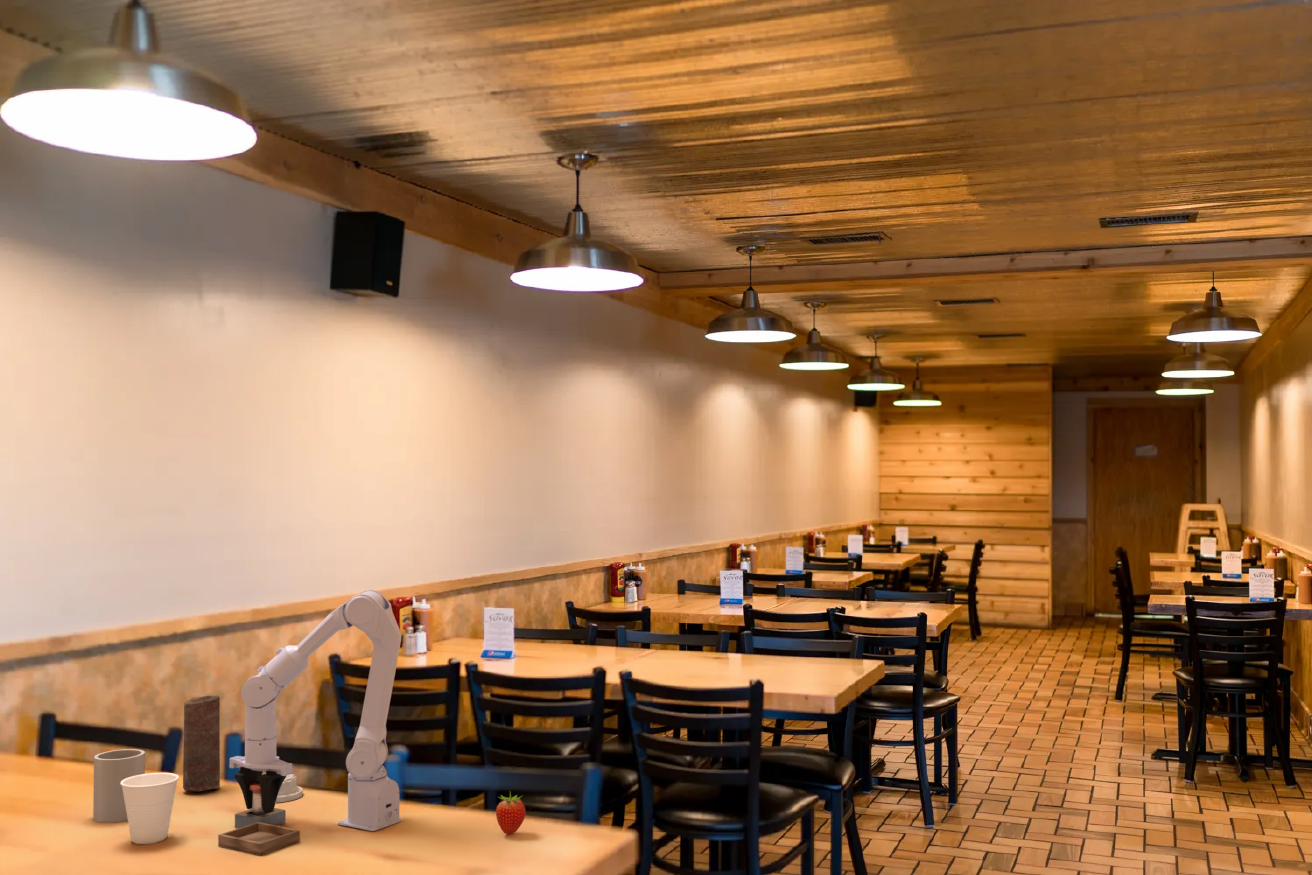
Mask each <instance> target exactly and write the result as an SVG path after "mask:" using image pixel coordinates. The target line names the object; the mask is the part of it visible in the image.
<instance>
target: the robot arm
mask: <svg viewBox="0 0 1312 875" xmlns="http://www.w3.org/2000/svg"><path fill="white" fill-rule="evenodd" d="M392 607H393V606H392V604H391V602H390V601H389V600H388V599H387V598H386V597H385V596H384V595H383V594H382V593H381V592H379V591H377V590H374V589H368V590H364V591H362V592H360V593H359V594H355V595H353V596H352V597H350V598H349V599H348V600H347V601H346V602H345V603H342V604H341V605H339V606H338V607H337V608H335V609H334V610H333V611H331V612H330V613H329V614H328V615H326V616H325V618H324V619H323V620H322V621H321V622H320V623H319V624H317V625H316V627H314V628H313V629H312V630H311V631H310V632H309V633H308V634H307V635H306V636H305V637H304V638H303V639H302V640H301V641H300V642H299V643H298V644H297V645H295V644H294V645H290V644H289V645H286V646H285V647H284V648H283V647H280V648H278V649H277V650H276V651H275V654H276V655H275V656H274V657H272V659H271V660H270V661H268V662H267V664H266V665H264V666H263V665H261V666H260V667H259V668H258V669H256V670H257V672H258V674H256V675H253V676H251V677H249V678H247V680H246V681H245V683H243V686H242V687H241V692H240V693H241V698H242V700H243V702H244V703H245V714H244V756H241V755H236V756H233V757H230V758H229V768H230V769H236V768H237V769H239V771H237V772H235V773H233V774H234V775H233V776H234V779H235V780H236V782H237V783H238V785H239V787H240V789H241V793H242V795H243V799H244V803H245V806H246V809H247V810H249V809H252V791H251V790H249V784H250V783H251V782H254V781H259V784H260V787H261V792H262V806H263V811H264V812H268V811H271V810H274V808H276V807H275V806H276V804H277V803H276V799H277V795H278V792H279V790H280V787H281V785H282V783H283V781H284V779H285V778H286V776H287V775H290V774H293V763H291V762H287V761H284V760H281V759H280V756H278V755H277V698H278V697H279V696H280V693H281V691H282V690H284V689H285V688H286V687H288V686H289V685H290V684H291V683H292V682H293V681H294V680H296V678H297V677H299V675H301V674H302V672H304V671H305V670H306V669H307V668H308V667H309V658H310V656H311V655H313V654H314V653H315V652H316V651H317V650H318V649H319V648H320V647H322V646H323V645H324V644H325V643H326V642H327V641H328V640H329V639H330V638H332V637H333V636H335V635H336V633H338V632H339V631H342V630H346V629H350V628H351V627H355V628H357V629H358V630H360V631H362V632H363V633H364V634H365V635H366V636H367V637H368V639H369V640H370V641H371V642H372V644H373V651H372V657H371V662H370V669H369V671H368V672H369V673H368V679H367V684H366V690H365V693H364V694H365V695H364V700H363V706H362V711H361V717H360V723H359V727H358V729H357V733H356V736H355V738H354V744H353V747H352V748H351V749H350V751H349V752H348V754H347V756H346V759H345V766H346V770H347V772H348V774H347V818H345V819H342V820H340V821H338V822H337V824H338V825H340V826H343V827H344V826H345V827H349V828H356V829H360V830H365V831H371V832H375V831H379V830H381V829H384V828H386V827H389V826H391V825H394V824H397V823H400V822H402V821H403V817H400V787H399V784H398V782H396V780H393V779H391V778H389V777H388V775H387V774H388V773H387V772H388V771H387V770H386V768H385V767H384V765H383V764H384V763H385V762H386V760H387V757H388V754H389V749H388V744H387V740H386V738H387V720H388V714H389V709H390V703H391V698H392V693H393V689H394V688H393V686H394V682H395V676H396V670H397V665H398V661H399V660H398V659H399V653H400V647H401V642H402V632H401V630H400V627H399V625H398V623H397V620H396V618H395V615H394V612H393V608H392ZM263 773H264V774H263Z"/></svg>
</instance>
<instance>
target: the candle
mask: <svg viewBox="0 0 1312 875" xmlns="http://www.w3.org/2000/svg"><path fill="white" fill-rule="evenodd" d="M220 699H221V698H220V695H219V694H214V695H204V696H191V697H189V698H187V700H186V701H184V703H183V753H182V754H183V759H182V761H183V763H182V771H183V772H182V774H183V775H182V789H183V790H184V791H186V792H194V793H199V792H204V791H208V790H211V789H214V790H216V789H217V790H218V789H219V788H220V787H221V786H220V784H221V783H220V782H221V779H220V778H221V776H220V775H221V763H220V761H221V755H220V754H221V753H220V752H221V751H220V750H221V747H220V743H221V738H220V735H221V734H220V730H221V729H220V728H221V726H220V722H221V721H220V720H221V719H220V716H221V715H220V714H221V712H220V710H221V708H220V707H221V705H220V704H221V703H220V701H221V700H220Z"/></svg>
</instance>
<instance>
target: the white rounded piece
mask: <svg viewBox="0 0 1312 875" xmlns="http://www.w3.org/2000/svg"><path fill="white" fill-rule="evenodd" d="M297 780H298V778H297V775H296V774H294V773H292V774H290V775H287V776H286V778H285V779H284V781H283V783H282V785H281V787H280V790H279V792H278V795H277V799H276V803H275V804H278V803H279V804H280V803H287V802H292V801H294V800H298V799H300V798H302V796H303V791H304V790H303V788H302V787H301V786H298V783H297V782H298V781H297ZM301 790H303V791H301Z"/></svg>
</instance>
